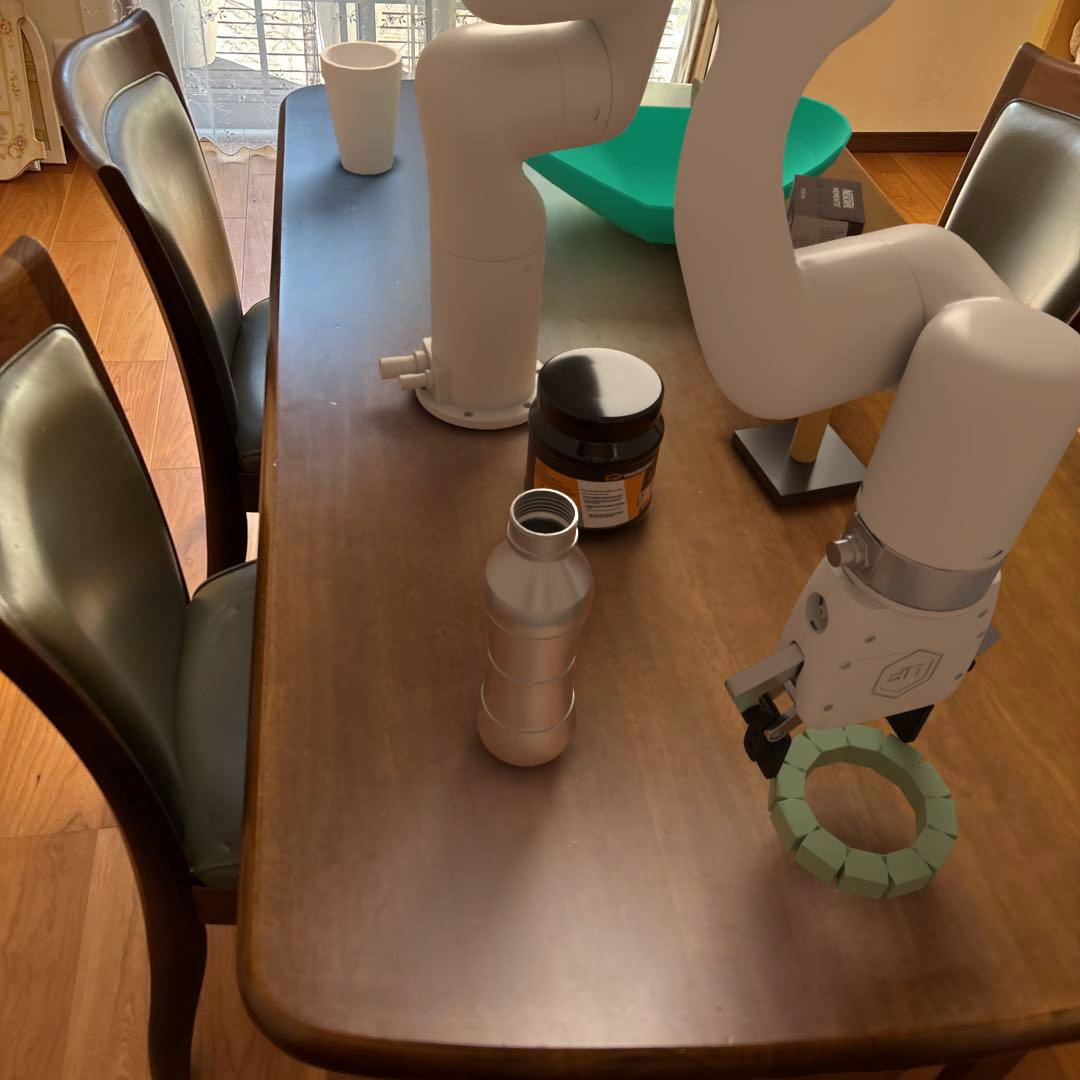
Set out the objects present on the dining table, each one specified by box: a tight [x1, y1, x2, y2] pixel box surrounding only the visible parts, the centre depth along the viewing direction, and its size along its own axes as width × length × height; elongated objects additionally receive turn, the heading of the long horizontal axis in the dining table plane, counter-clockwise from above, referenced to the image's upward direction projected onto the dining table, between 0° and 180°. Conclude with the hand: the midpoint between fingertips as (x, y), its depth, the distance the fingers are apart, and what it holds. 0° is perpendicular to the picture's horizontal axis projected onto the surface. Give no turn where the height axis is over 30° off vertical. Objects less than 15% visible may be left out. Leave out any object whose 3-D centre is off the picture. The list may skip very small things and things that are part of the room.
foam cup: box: [319, 40, 404, 176], centre depth 124 cm, size 10×9×13 cm
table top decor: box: [523, 95, 853, 245], centre depth 116 cm, size 40×28×13 cm
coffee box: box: [785, 174, 866, 249], centre depth 98 cm, size 9×6×16 cm
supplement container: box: [523, 346, 666, 540], centre depth 80 cm, size 10×10×12 cm
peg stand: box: [731, 407, 867, 507], centre depth 86 cm, size 9×9×11 cm
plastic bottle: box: [475, 489, 595, 768], centre depth 60 cm, size 6×7×20 cm
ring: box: [767, 723, 959, 901], centre depth 61 cm, size 11×11×2 cm
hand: (828, 741), depth 63 cm, fingers closed on ring, 9 cm apart
